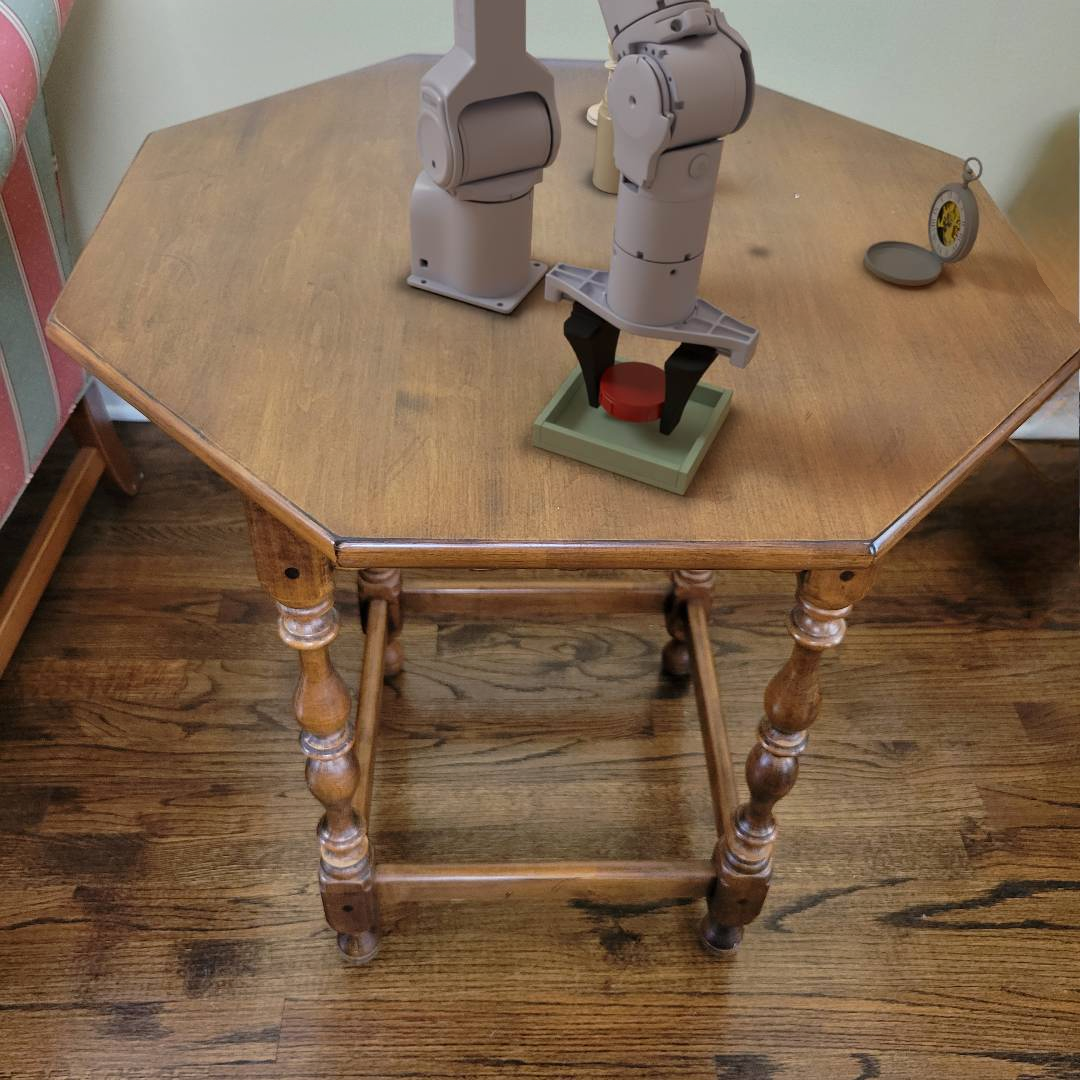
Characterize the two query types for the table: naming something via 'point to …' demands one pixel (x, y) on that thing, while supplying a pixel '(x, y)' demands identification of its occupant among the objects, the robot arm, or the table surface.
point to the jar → (605, 153)
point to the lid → (633, 391)
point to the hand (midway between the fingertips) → (634, 413)
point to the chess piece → (611, 65)
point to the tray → (632, 434)
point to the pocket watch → (932, 238)
